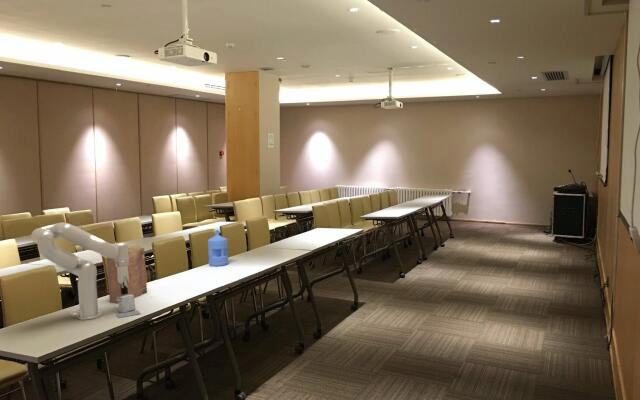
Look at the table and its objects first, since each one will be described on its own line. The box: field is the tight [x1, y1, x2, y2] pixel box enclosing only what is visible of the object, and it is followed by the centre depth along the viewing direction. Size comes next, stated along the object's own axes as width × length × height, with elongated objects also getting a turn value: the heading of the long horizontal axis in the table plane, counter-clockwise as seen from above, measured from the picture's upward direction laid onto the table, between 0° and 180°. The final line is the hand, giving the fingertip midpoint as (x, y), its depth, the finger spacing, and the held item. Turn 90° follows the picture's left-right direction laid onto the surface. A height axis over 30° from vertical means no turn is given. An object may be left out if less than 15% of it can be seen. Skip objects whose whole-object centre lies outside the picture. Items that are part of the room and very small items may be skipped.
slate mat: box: [115, 310, 142, 319], centre depth 294 cm, size 12×8×1 cm, turn 121°
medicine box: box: [117, 295, 136, 313], centre depth 300 cm, size 8×4×9 cm, turn 141°
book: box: [106, 247, 148, 304], centre depth 329 cm, size 25×9×30 cm, turn 164°
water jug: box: [207, 229, 229, 267], centre depth 422 cm, size 16×16×28 cm
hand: (124, 294), depth 307 cm, fingers closed
